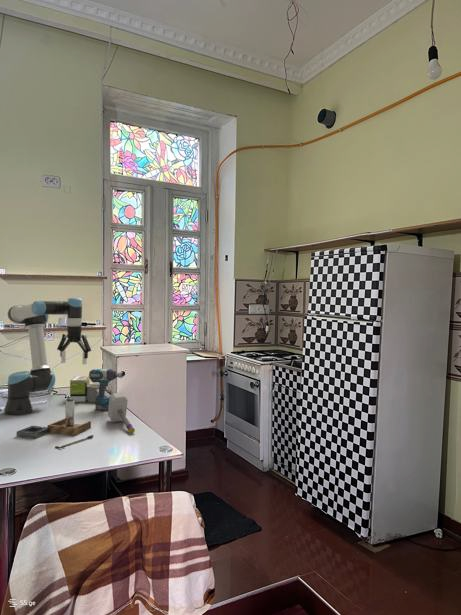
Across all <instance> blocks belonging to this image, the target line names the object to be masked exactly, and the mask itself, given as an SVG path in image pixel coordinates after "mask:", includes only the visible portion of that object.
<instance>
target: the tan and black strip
mask: <svg viewBox="0 0 461 615" xmlns="http://www.w3.org/2000/svg"><path fill="white" fill-rule="evenodd" d="M93 437H94V435H93V434H92V435H88V436H87V437H85V438H81V439H78V440H75V441H73V442H69V443H66V444H63V445H61V446H57V445H56V446H54V449H57V450H59V451H62V450H64V449H66V447H69V446H72V445H76V444H79V443H81V442H84V441H88V440H90V439H91V438H93Z"/></svg>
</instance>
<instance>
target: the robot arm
mask: <svg viewBox="0 0 461 615" xmlns="http://www.w3.org/2000/svg"><path fill="white" fill-rule="evenodd" d="M82 302H83V301H82V298H74V297H72V298H71V297H70V298H68V299H67V301H66V300H65V301H64V300H62V301H60V300H58V301H56V300H54V301H53V300H52V301H51V300H50V301H49V300H47V301H46V300H38V301H37V300H35V301H33V302H32V303H29V304H25V305H23V304H21V305H20V304H19V305H14V306H13V305H12V306H11V307H10V308H9V309H8V311H7V318H8V320H10V322H12V323H14V324H17V325H25V327H24V328H26V330H28V337H29V338H28V339H29V346H30V356H31V358H30V359H31V366H32V368H30V370H29V371H27V370H23V371H16V372H13V373H11V374H9V376H8V377H7V401H6V404H5V406H4V410H3V411H4V413H3V414H4V415H7V414H9V415H10V416H17V415H19V416H20V415H25V414H30V413H31V412H33V406H32V403H31V399H30V394H31V393H37V392H46V391H49V390H51V389H53V387H54V386H55V384H56V374H55V372H54V371H53V370H52V369H51V367H50V366H49V365H48V360H47V359H48V358H47V352H46V351H47V350H46V349H47V348H46V342H45V333H44V328H45V327H46V324H47V323H48V322H49V315H50V316H52V315H58V316H59V315H64V316H65V315H66V316H67V322H66V323H67V328H66V329H67V330H66V332H67V333H63V334H62V336H61V339H60V341H59V344H58V346H57V348H56V349H57V351H59V353H60V355H59V356H60V358H61V359H60V360H61V361H60V362H61V363H60V364H65V363H66V358H67V357H66V349H67V348H68V346H69V345H70V344H71V343H76V344H78V346H79V347H80V348H81V350H82V351H83V352H82V365H84V366H85V365H87V364H88V363H87V360H88V358H89V352H92V349H91V346H90V344H89V341H88V338H87V334H82V330H83V329H82V327H83V326H82V322H83V321H82V320H83V317H82V316H83V303H82ZM9 415H8V416H9Z"/></svg>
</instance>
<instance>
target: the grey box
mask: <svg viewBox="0 0 461 615" xmlns="http://www.w3.org/2000/svg"><path fill="white" fill-rule="evenodd" d="M99 386H100V383H98V384H90V385H88V386H87V400H86V402H88V403H97V402H96V397H97V396H98V395H99Z"/></svg>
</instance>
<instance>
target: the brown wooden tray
mask: <svg viewBox="0 0 461 615" xmlns="http://www.w3.org/2000/svg"><path fill="white" fill-rule="evenodd" d="M46 427H47V428H50V433H51V434H58V435H66V436H67V435H69V436H77V435H79V434H81V433H83V432H85V431H87V430H90V429H91V428H92V421H91V420H88V421H87V422H83V423H82V424H79V423H74V428H73V427H65V417H64V418H62V419H60V420H57V421H55V422H52V423H50V424H47V425H46ZM50 433H49V434H50Z"/></svg>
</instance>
